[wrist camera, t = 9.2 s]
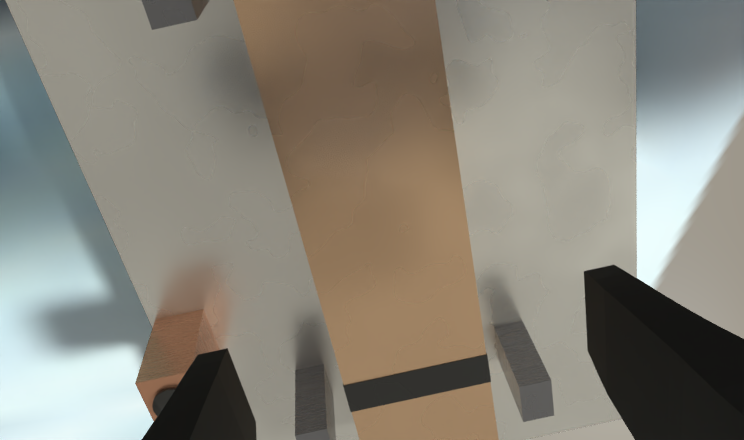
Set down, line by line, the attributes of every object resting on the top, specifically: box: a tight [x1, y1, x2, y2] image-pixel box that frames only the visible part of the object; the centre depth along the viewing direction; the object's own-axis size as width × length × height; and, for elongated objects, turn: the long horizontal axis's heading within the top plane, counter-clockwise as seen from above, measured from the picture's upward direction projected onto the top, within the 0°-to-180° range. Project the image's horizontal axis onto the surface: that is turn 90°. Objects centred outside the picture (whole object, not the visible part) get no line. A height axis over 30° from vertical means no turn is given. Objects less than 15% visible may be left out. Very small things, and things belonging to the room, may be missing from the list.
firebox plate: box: [5, 0, 637, 440], centre depth 19 cm, size 16×24×5 cm, turn 11°
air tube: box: [233, 0, 499, 440], centre depth 18 cm, size 18×4×4 cm, turn 11°
